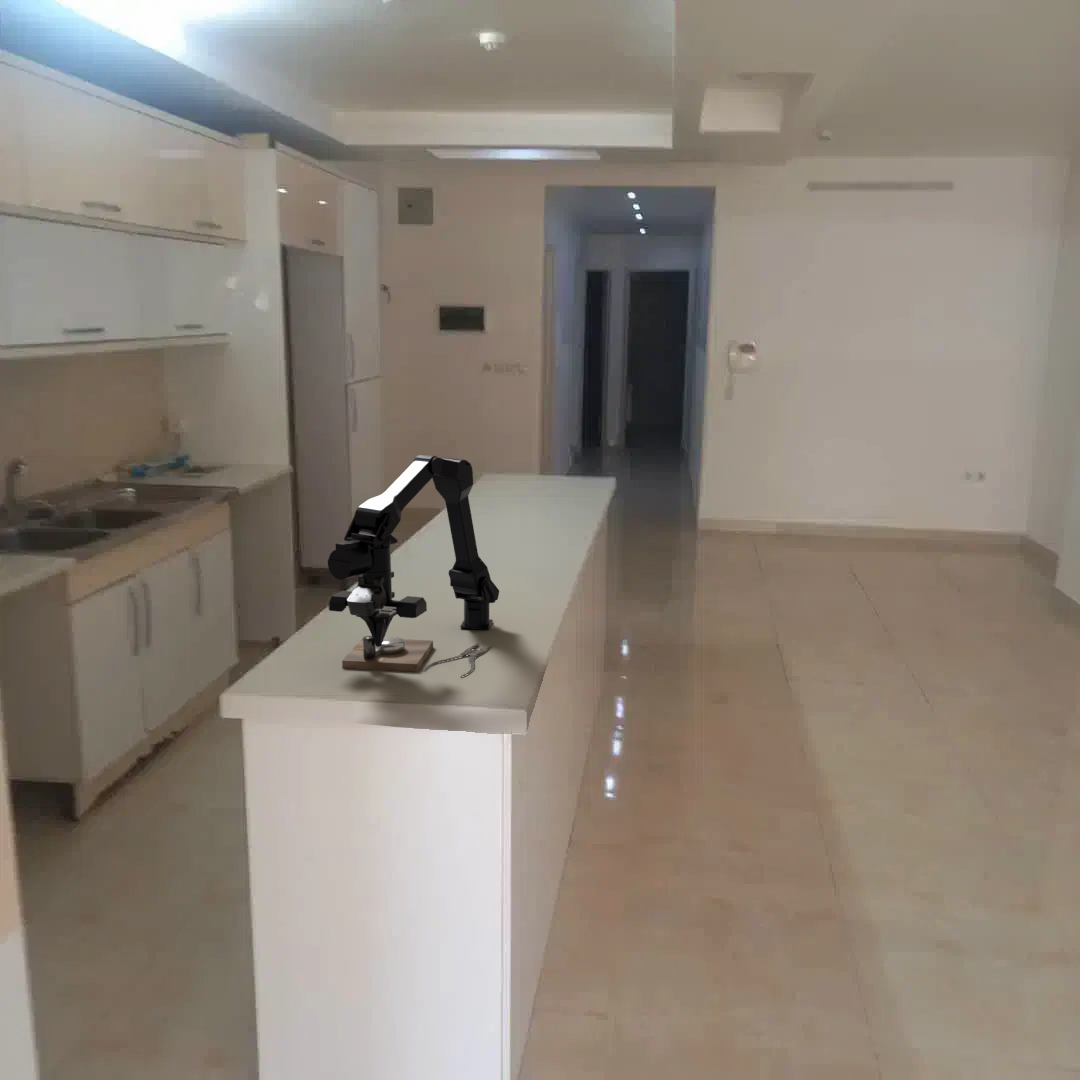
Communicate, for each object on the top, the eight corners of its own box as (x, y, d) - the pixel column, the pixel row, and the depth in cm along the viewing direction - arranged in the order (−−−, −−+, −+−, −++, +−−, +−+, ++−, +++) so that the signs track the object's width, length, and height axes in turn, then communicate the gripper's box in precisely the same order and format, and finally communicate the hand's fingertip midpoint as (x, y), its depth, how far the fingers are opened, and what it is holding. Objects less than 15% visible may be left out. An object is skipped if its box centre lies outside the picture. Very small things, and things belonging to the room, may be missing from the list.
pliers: (419, 672, 197) (447, 640, 216) (419, 676, 197) (447, 644, 216) (467, 676, 195) (491, 644, 214) (467, 680, 195) (491, 647, 215)
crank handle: (386, 642, 210) (386, 623, 210) (411, 647, 207) (411, 628, 206) (353, 655, 202) (352, 636, 201) (378, 661, 198) (377, 642, 198)
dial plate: (363, 644, 215) (363, 637, 214) (433, 647, 213) (432, 640, 213) (342, 667, 200) (342, 660, 200) (417, 671, 198) (416, 663, 198)
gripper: (312, 575, 192) (316, 654, 195) (402, 582, 186) (405, 663, 190) (340, 562, 202) (343, 637, 205) (426, 568, 197) (428, 645, 200)
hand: (378, 646), depth 200 cm, fingers closed
